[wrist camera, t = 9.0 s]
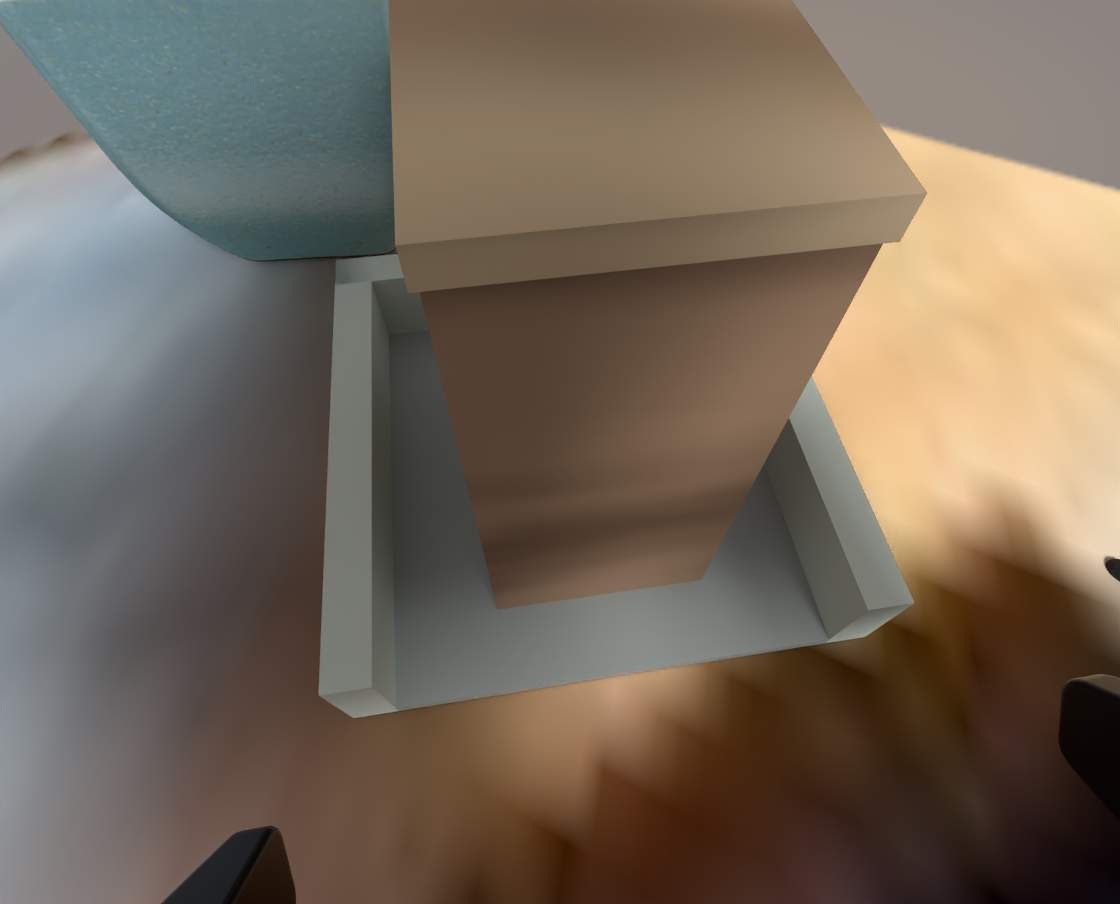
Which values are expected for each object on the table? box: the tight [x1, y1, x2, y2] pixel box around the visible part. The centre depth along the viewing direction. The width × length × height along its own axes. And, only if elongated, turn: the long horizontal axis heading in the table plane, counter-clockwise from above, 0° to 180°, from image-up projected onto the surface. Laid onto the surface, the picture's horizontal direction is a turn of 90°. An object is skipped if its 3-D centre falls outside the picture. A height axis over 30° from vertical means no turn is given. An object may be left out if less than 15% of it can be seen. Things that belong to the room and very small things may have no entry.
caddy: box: [388, 0, 927, 610], centre depth 13 cm, size 7×5×11 cm
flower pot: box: [0, 0, 396, 260], centre depth 20 cm, size 9×9×9 cm
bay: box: [318, 254, 914, 718], centre depth 17 cm, size 12×12×2 cm
